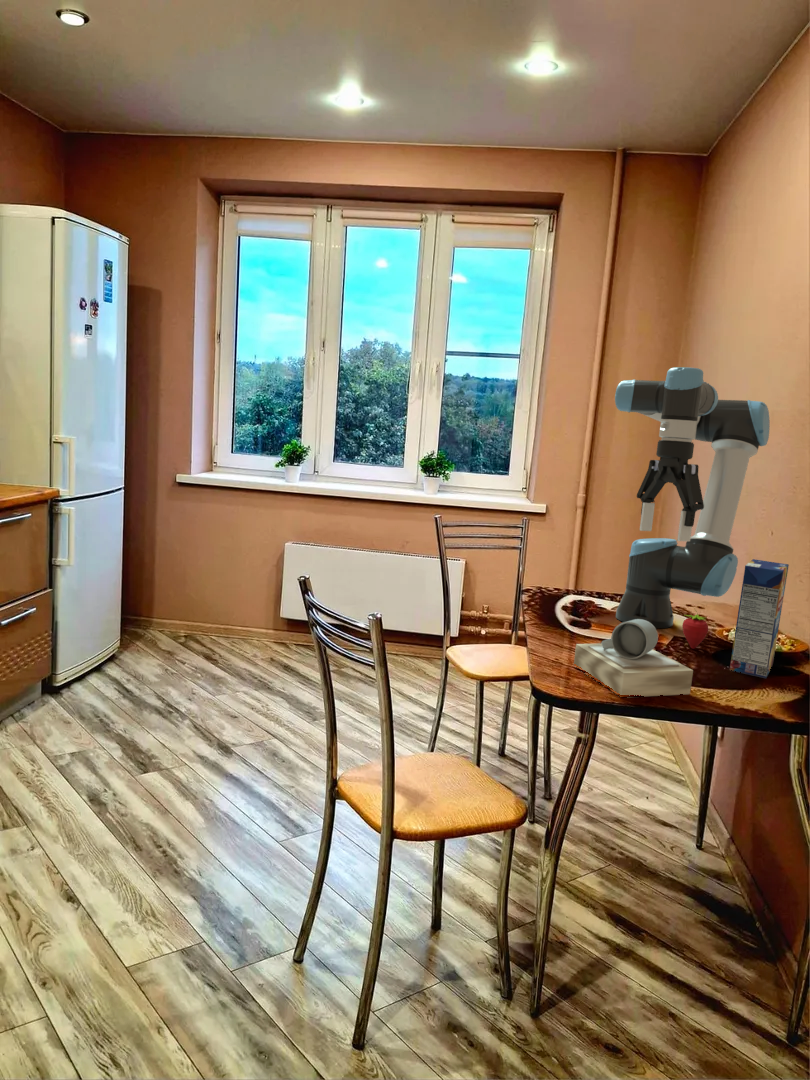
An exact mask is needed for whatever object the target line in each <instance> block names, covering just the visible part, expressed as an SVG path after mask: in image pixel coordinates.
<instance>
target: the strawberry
mask: <svg viewBox="0 0 810 1080" xmlns="http://www.w3.org/2000/svg"><path fill="white" fill-rule="evenodd" d="M694 611H695V613H696V614H694V615H691V614H683V616H684V617H687V618H685V620H683V623H682V625H681V627H682V634H683V635H684V637H685V640H686V642H687V643H688V645H689V647H690V649H693V650H695V649H696V648H697V647H698V646H699V645H700V644H701V643H702V642H703V641H704V639H706V637H707V634H708V632H709V624H708V623H707V617H706V616H699V614H698V612H697V610H696V609H694Z"/></svg>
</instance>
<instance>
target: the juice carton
mask: <svg viewBox="0 0 810 1080" xmlns="http://www.w3.org/2000/svg"><path fill="white" fill-rule="evenodd" d="M789 566H790V565H789V564H787V563H780V562H775V561H774V562H773V561H767V560H761V559H754V558H753V559H752V560H750V561H749V562H748V563H746V565H744V571H743V578H742V584H741V590H740V591H741V592H740V598H739V599H740V600H739V605H738V612H737V619H736V625H735V631H734V636H733V638H734V639H733V644H732V650H731V651H732V652H731V659H730V664H729V671H731V670H732V671H731V672H735V671H736V673H740V672H741V674H743V675H744V674H745V675H749V676H753V677H759V678H761V679H762V678H763V679H767V677H768V676H769V673H770V671H771V670H770V669H772V668H771V667H773V666H774V665H773V664H774V660H775V658H774V657H775V652H776V647H777V641H778V633H779V627H780V620H781V616H782V610H783V602H784V597H785V590H786V584H787V579H788V573H789Z"/></svg>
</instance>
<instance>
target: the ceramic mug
mask: <svg viewBox="0 0 810 1080" xmlns="http://www.w3.org/2000/svg"><path fill="white" fill-rule="evenodd" d="M658 633H659V632H658V631H657V628H655V627H654V626H653V625H652V624H651V623H650V622H648V621H646V620H643V619H635V620H631V621H627V622H621V623H619V624H617V626H615V628H614V629H613V631H612V633H611V636H610V638H607V639H604V640H602V641H601V643H602V646H603V648H604V649H605V648H612V647H613V648H614V650H615V651H616V653H617V654H618V655H620V656H621V657H623V658H626V659H637V658H640V657H641V656H643V655H645V654H646V653H648V652H650V651H651V650H652V649H653V650H654V649H655V648H656V646H657V643H658V640H659V635H658Z"/></svg>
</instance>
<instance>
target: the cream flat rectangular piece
mask: <svg viewBox="0 0 810 1080" xmlns="http://www.w3.org/2000/svg"><path fill="white" fill-rule="evenodd" d="M573 658H574V659H573V665H574V664H576V665H577V666H579V667H581V668H582V669H583V670H585V671H586V672H588V673H589V674H591V675H592V676H594V677H595V678H597V679H598V680H600V681H601V682H603V683H604V684H605V685H607V686H609V687H610V688H612V689H613V690H614V691H616V692H617V693H619V694H620V695H629V696H630V695H634V696H635V695H636V696H637V695H639V696H640V695H641V696H644V697H658V696H659V697H661V696H660V695H663V696H679V695H680V694H683V695H690V694H691V688H692V681H693V673H694V670H693V669H691V668H689V667H688V666H685V665H684V664H682V663H680V662H678V661H677V660H674V659H673V658H671V657H668V656H667V655H664V654H662V653H661V652H659V651H656V650H655V649H654V648H653V649H652V650H651V651H650V652H648V653H646V654H645V655H643V656H641V657H640V658H637V659H626V658H623V657H621V656H620V655H618V654H617V653H616V651H615V650H614V648H613V647H612V648H605V649H604V648H603V646H602V643H576V644H575V650H574V657H573Z"/></svg>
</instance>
